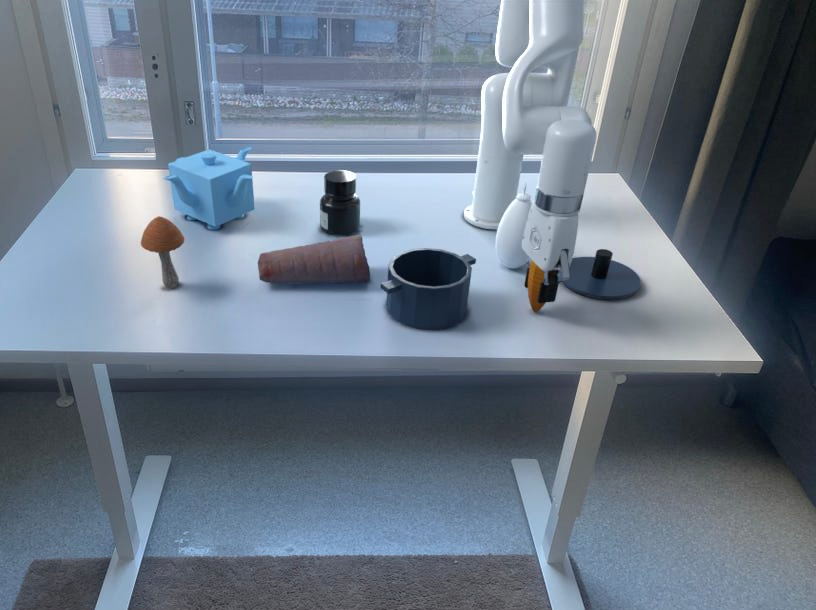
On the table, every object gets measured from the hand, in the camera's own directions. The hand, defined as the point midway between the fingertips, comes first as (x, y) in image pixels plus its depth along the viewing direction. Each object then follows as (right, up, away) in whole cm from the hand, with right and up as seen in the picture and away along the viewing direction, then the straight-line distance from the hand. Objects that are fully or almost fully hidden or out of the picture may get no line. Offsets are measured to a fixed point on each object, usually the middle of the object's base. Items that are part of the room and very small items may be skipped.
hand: (539, 293), depth 126 cm
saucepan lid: (+15, +4, +11) cm, 19 cm away
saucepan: (-20, -2, +4) cm, 20 cm away
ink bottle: (-36, +17, +31) cm, 50 cm away
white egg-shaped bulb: (-1, +7, +16) cm, 18 cm away
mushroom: (-69, +2, +10) cm, 69 cm away
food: (-41, +4, +13) cm, 43 cm away
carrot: (0, -3, +3) cm, 4 cm away
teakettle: (-64, +20, +34) cm, 75 cm away
